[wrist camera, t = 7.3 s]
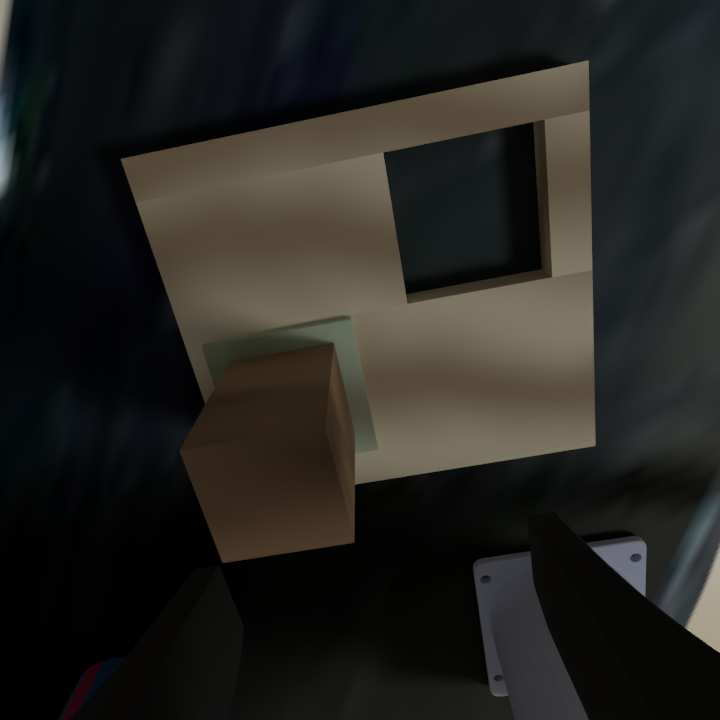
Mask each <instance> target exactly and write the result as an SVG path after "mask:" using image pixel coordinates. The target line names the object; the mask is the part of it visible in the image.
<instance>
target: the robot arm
mask: <svg viewBox="0 0 720 720" xmlns="http://www.w3.org/2000/svg"><path fill="white" fill-rule="evenodd" d="M527 521H528V531H529V542H530V551H528V552H522V553H515V554H508V555H501V556H495V557H488V558H482V559H478V560H477V561H475V563H474V564H473V573H474V580H475V587H476V594H477V602H478V609H479V616H480V623H481V630H482V637H483V645H484V652H485V659H486V666H487V673H488V680H489V687H490V691H491V693H492V694H493V695H495V696H507V695H508V696H509V700H510V703H511V707H512V711H513V714H514V718H515V720H720V653H719V652H717V651H716V650H714V649H713V648H712V647H710V646H709V645H707V644H706V643H705V642H703V641H702V640H700V639H699V638H698V637H696V636H695V635H693V634H692V633H691V632H689V631H688V630H687V629H685V628H684V627H683V626H681V625H680V624H679V623H677V622H676V621H675V620H674V619H672V618H671V617H670V616H668V615H667V614H666V613H665V612H663V611H662V610H661V609H660V608H658V607H657V606H656V605H655V604H653V603H652V602H651V601H650V600H649V599H647V598H646V597H645V581H646V544H645V543H644V541H643V540H642V539H641V538H640V537H638V536H630V537H623V538H616V539H609V540H603V541H596V542H589V543H586V542H585V541H584V540H583V539H582V538H581V537H580V536H579V535H578V534H577V533H576V532H575V531H574V530H573V529H572V528H571V527H570V526H569V525H568V524H567V523H566V522H565V521H564V520H563V519H562V517H561V516H560V515H558V514H557V513H555V512H551V513H544V514H538V515H532V516H527ZM633 554H635V555H633ZM632 555H633V556H632ZM485 575H486V576H487V577H482V576H485ZM243 631H244V626H243V623H242V621H241V618H240V616H239V613H238V611H237V608H236V606H235V603H234V601H233V598H232V596H231V593H230V591H229V588H228V586H227V583H226V581H225V578H224V575H223V573H222V570H221V568H220V565H217V566H211V567H204V568H198V569H194V571H193V572H192V573H191V574H190V576H189V577H188V578H187V579H186V581H185V582H184V583H183V584H182V586H181V587H180V588H179V590H178V591H177V592H176V594H175V595H174V596H173V597H172V599H171V600H170V601H169V603H168V604H167V605H166V607H165V608H164V609H163V611H162V612H161V613H160V614H159V616H158V617H157V618H156V620H155V621H154V622H153V623H152V625H151V626H150V627H149V628H148V630H147V631H146V632H145V633H144V635H143V636H142V637H141V639H140V640H139V641H138V642H137V644H136V645H135V646H134V647H133V649H132V650H131V651H130V652H129V653H128V654H127V656H126V657H125V658H124V659H123V660H122V661H121V663H120V664H119V665H118V666H117V667H116V668H115V670H114V671H113V672H112V673H111V674H110V676H109V677H108V678H107V679H106V680H105V681H104V683H103V684H102V685H101V686H100V687H99V688H98V690H97V691H96V692H95V693H94V694H93V695H92V696H91V697H90V698H89V699H88V701H87V702H86V703H85V704H84V705H83V706H82V707H81V708H80V709H79V710H78V711H77V712H76V713H75V714H74V715H73V716H72V717H71V718H70V719H69V720H228V717H229V713H230V708H231V704H232V700H233V696H234V691H235V687H236V683H237V678H238V674H239V666H240V659H241V651H242V641H243Z"/></svg>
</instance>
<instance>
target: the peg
mask: <svg viewBox="0 0 720 720" xmlns="http://www.w3.org/2000/svg"><path fill="white" fill-rule="evenodd" d="M180 453H181V456H182V458H183V461H184V464H185V466H186V469H187V471H188V474H189V477H190V479H191V482H192V484H193V487H194V490H195V492H196V495H197V498H198V500H199V503H200V505H201V508H202V511H203V513H204V516H205V518H206V521H207V524H208V526H209V529H210V531H211V534H212V537H213V539H214V542H215V544H216V547H217V550H218V552H219V555H220V557H221V560H222V563H226V562H232V561H239V560H245V559H252V558H258V557H265V556H271V555H278V554H284V553H291V552H297V551H304V550H310V549H317V548H323V547H330V546H336V545H343V544H349V543H354V533H355V432H354V428H353V423H352V419H351V415H350V410H349V406H348V401H347V397H346V393H345V388H344V384H343V379H342V375H341V370H340V366H339V362H338V357H337V353H336V348H335V344H334V343H330V344H324V345H319V346H313V347H307V348H302V349H296V350H291V351H285V352H280V353H274V354H269V355H263V356H258V357H252V358H247V359H241V360H236V361H230V362H229V363H228V364H227V366H226V368H225V370H224V372H223V373H222V375H221V377H220V379H219V381H218V382H217V384H216V386H215V388H214V390H213V391H212V393H211V395H210V397H209V399H208V400H207V402H206V404H205V406H204V408H203V409H202V411H201V413H200V415H199V417H198V418H197V420H196V422H195V424H194V426H193V427H192V429H191V431H190V433H189V435H188V436H187V438H186V440H185V442H184V444H183V446H182V447H181V449H180Z"/></svg>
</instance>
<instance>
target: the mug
mask: <svg viewBox="0 0 720 720" xmlns="http://www.w3.org/2000/svg"><path fill="white" fill-rule="evenodd" d="M124 658H125V657H116V658H111V659H107V660H104V661H102V662H99V663H97V664H95V665H93V666H92V667H90V668H89V669H87V670H86V671H85V672H84V673H83V674H82V675H81V677H80V679H79V680H78V682H77V684H76V686H75V688H74V690H73V692H72V694H71V696H70V698H69V700H68V702H67V704H66V706H65V708H64V710H63V712H62V714H61V716H60V718H59V720H69V719H70V718H71V717H72V716H73V715H74V714H75V713H76V712H77V711H78V710H79V709H80V708H81V707H82V706H83V705H84V704H85V703H86V702H87V701H88V699H89V698H90V697H91V696H92V695H93V694H94V693H95V692H96V691H97V690H98V688H99V687H100V686H101V685H102V684H103V683H104V681H105V680H106V679H107V678H108V677H109V676H110V674H111V673H112V672H113V671H114V670H115V668H116V667H117V666H118V665H119V664H120V663H121V661H122V660H123V659H124Z"/></svg>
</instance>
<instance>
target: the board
mask: <svg viewBox="0 0 720 720" xmlns="http://www.w3.org/2000/svg"><path fill="white" fill-rule="evenodd" d="M530 122H533V125H534V143H535V161H536V179H537V196H538V214H539V232H540V250H541V268H542V269H540V270H535V271H530V272H524V273H519V274H513V275H508V276H502V277H497V278H492V279H486V280H481V281H475V282H470V283H464V284H459V285H454V286H448V287H443V288H437V289H432V290H426V291H421V292H416V293H410V294H406V291H405V285H404V279H403V273H402V267H401V260H400V254H399V248H398V242H397V236H396V229H395V223H394V217H393V211H392V205H391V198H390V192H389V186H388V180H387V174H386V167H385V161H384V155H383V152H388V151H393V150H398V149H402V148H407V147H412V146H417V145H422V144H427V143H432V142H437V141H442V140H447V139H452V138H456V137H461V136H466V135H471V134H476V133H481V132H486V131H491V130H496V129H501V128H506V127H510V126H515V125H520V124H525V123H530ZM121 161H122V164H123V167H124V170H125V173H126V176H127V179H128V182H129V184H130V187H131V190H132V193H133V196H134V199H135V202H136V205H137V208H138V211H139V213H140V216H141V219H142V222H143V225H144V228H145V231H146V234H147V237H148V240H149V242H150V245H151V248H152V251H153V254H154V257H155V260H156V263H157V266H158V269H159V271H160V274H161V277H162V280H163V283H164V286H165V289H166V292H167V295H168V298H169V300H170V303H171V306H172V309H173V312H174V315H175V318H176V321H177V324H178V326H179V329H180V332H181V335H182V338H183V341H184V344H185V347H186V350H187V353H188V355H189V358H190V361H191V364H192V367H193V370H194V373H195V376H196V379H197V382H198V384H199V387H200V390H201V393H202V396H203V399H204V402H205V404H206V402H207V400H208V399H209V397H210V395H211V393H212V391H213V390H214V388H215V386H216V384H217V382H218V381H219V379H220V377H221V375H222V373H223V372H224V370H225V368H226V366H227V364H228V363H229V362H230V361H236V360H241V359H247V358H252V357H258V356H263V355H269V354H274V353H280V352H285V351H291V350H296V349H302V348H307V347H313V346H319V345H324V344H330V343H334V344H335V348H336V353H337V357H338V362H339V366H340V370H341V375H342V379H343V384H344V388H345V393H346V397H347V401H348V406H349V410H350V415H351V419H352V423H353V428H354V432H355V484H361V483H367V482H373V481H379V480H386V479H392V478H398V477H404V476H411V475H417V474H423V473H429V472H436V471H442V470H448V469H454V468H460V467H467V466H473V465H479V464H485V463H492V462H498V461H504V460H510V459H517V458H523V457H529V456H535V455H542V454H548V453H554V452H560V451H566V450H573V449H579V448H585V447H591V446H595V395H594V339H593V283H592V227H591V171H590V115H589V61H584V62H580V63H575V64H570V65H565V66H561V67H556V68H551V69H546V70H542V71H537V72H532V73H527V74H523V75H518V76H513V77H508V78H504V79H499V80H494V81H489V82H484V83H480V84H475V85H470V86H465V87H461V88H456V89H451V90H446V91H442V92H437V93H432V94H427V95H423V96H418V97H413V98H408V99H404V100H399V101H394V102H389V103H385V104H380V105H375V106H370V107H366V108H361V109H356V110H351V111H347V112H342V113H337V114H332V115H327V116H323V117H318V118H313V119H308V120H304V121H299V122H294V123H289V124H285V125H280V126H275V127H270V128H266V129H261V130H256V131H251V132H247V133H242V134H237V135H232V136H228V137H223V138H218V139H213V140H209V141H204V142H199V143H194V144H189V145H185V146H180V147H175V148H170V149H166V150H161V151H156V152H151V153H147V154H142V155H137V156H132V157H128V158H123V159H121Z"/></svg>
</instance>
